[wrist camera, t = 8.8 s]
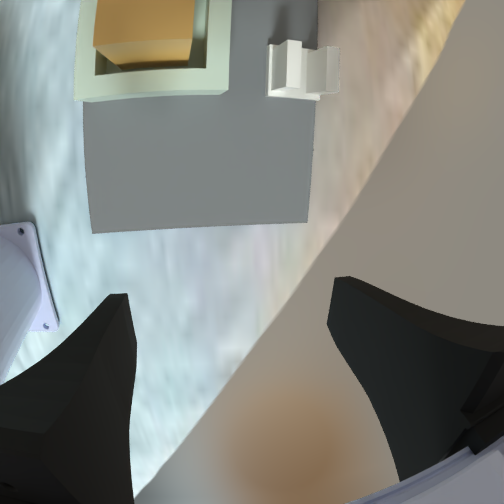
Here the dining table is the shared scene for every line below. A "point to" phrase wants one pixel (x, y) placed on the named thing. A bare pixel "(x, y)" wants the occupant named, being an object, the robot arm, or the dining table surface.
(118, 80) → the end holder
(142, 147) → the mat
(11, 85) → the dining table surface
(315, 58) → the cable clip
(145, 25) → the connector plug
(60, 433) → the robot arm
